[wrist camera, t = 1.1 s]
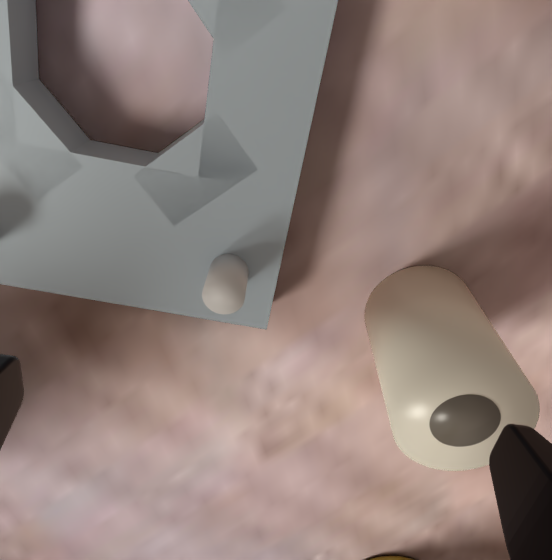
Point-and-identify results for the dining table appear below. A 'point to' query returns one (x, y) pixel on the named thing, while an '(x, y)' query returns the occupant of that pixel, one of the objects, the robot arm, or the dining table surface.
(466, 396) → the bushing
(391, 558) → the vase
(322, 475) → the dining table surface
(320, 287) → the dining table surface
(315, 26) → the jig
